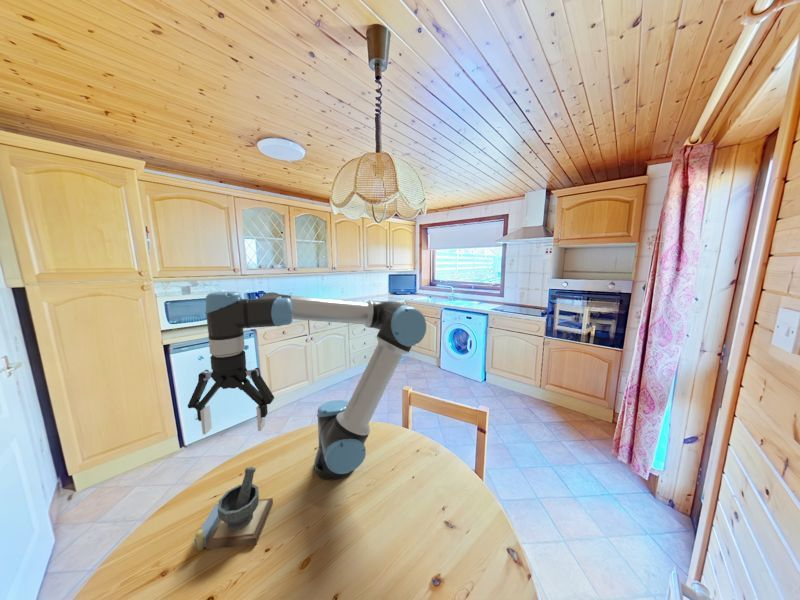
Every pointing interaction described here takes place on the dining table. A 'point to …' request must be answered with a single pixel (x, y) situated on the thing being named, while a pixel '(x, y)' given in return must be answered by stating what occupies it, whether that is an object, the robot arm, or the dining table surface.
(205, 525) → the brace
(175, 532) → the dining table surface
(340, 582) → the dining table surface
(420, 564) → the dining table surface
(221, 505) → the mortar and pestle
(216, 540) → the stand
